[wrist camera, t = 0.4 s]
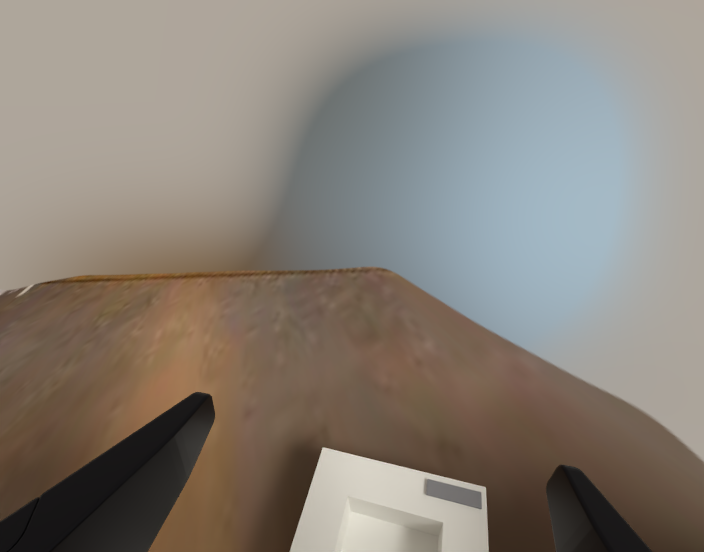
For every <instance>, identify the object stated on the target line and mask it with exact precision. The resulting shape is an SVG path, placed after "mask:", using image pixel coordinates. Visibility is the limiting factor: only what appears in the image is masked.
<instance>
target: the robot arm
mask: <svg viewBox="0 0 704 552" xmlns="http://www.w3.org/2000/svg"><path fill="white" fill-rule="evenodd" d="M214 419H215V411H214V406H213V401H212V396H211V395H210V394H206V393H201V392H195V393H193V394H191V395H190V396H188V397H187V398H185V399H184V400H182V401H181V402H179V403H178V404H176V405H175V406H173V407H172V408H170V409H169V410H167V411H166V412H164V413H163V414H161V415H160V416H158V417H157V418H155V419H154V420H152V421H151V422H149V423H148V424H146V425H145V426H143V427H142V428H140V429H139V430H137V431H136V432H134V433H133V434H131V435H130V436H128V437H127V438H125V439H124V440H122V441H121V442H119V443H118V444H116V445H115V446H113V447H112V448H110V449H109V450H107V451H106V452H104V453H103V454H101V455H100V456H98V457H97V458H95V459H94V460H92V461H91V462H89V463H88V464H86V465H85V466H83V467H82V468H80V469H79V470H77V471H76V472H74V473H73V474H71V475H70V476H68V477H67V478H65V479H64V480H62V481H61V482H59V483H58V484H56V485H55V486H53V487H52V488H50V489H49V490H47V491H46V492H44V493H43V494H42V495H41V496H40V497H37V498H35V499H34V500H32V501H31V502H29V503H28V504H26V505H25V506H23V507H22V508H20V509H19V510H17V511H16V512H14V513H13V514H11V515H10V516H8V517H6V518H5V519H3V520H2V521H0V552H148V550H149V548H150V547H151V545H152V543H153V541H154V539H155V538H156V536H157V534H158V532H159V530H160V529H161V527H162V525H163V523H164V522H165V520H166V518H167V516H168V514H169V513H170V511H171V509H172V507H173V506H174V504H175V502H176V500H177V498H178V497H179V495H180V493H181V491H182V490H183V488H184V486H185V484H186V482H187V480H188V478H189V476H190V474H191V472H192V470H193V468H194V465H195V463H196V461H197V458H198V456H199V454H200V452H201V449H202V447H203V445H204V443H205V440H206V438H207V436H208V434H209V431H210V429H211V427H212V425H213V422H214ZM546 493H547V499H548V505H549V511H550V517H551V523H552V529H553V535H554V541H555V547H556V552H652V551H651V550H650V549H649V547H648V546H647V545H646V544H645V543H644V542H643V541H642V539H641V538H640V537H639V536H638V535H637V534H636V533H635V531H634V530H633V529H632V528H631V527H630V526H629V524H628V523H627V522H626V521H625V520H624V519H623V518H622V516H621V515H620V514H619V513H618V512H617V511H616V510H615V508H614V507H613V506H612V505H611V504H610V503H609V502H608V500H607V499H606V498H605V497H604V496H603V495H602V494H601V492H600V491H599V490H598V489H597V488H596V487H595V486H594V484H593V483H592V482H591V481H590V480H589V479H588V478H587V476H586V475H585V474H584V473H583V472H582V471H581V470H580V469H578V468H576V467H571V466H566V465H559V466H558V467H557V468H556V470H555V471H554V473H553V474H552V476H551V478H550V479H549V481H548V483H547V487H546Z"/></svg>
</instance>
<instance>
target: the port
mask: <svg viewBox="0 0 704 552" xmlns="http://www.w3.org/2000/svg"><path fill="white" fill-rule="evenodd" d="M290 552H489V545H488V523H487V501H486V487H483V486H479V485H475V484H471V483H467V482H462V481H458V480H454V479H450V478H446V477H442V476H438V475H434V474H430V473H426V472H422V471H418V470H414V469H409V468H405V467H401V466H397V465H393V464H389V463H385V462H381V461H377V460H373V459H369V458H365V457H361V456H356V455H352V454H348V453H344V452H340V451H336V450H332V449H328V448H324V447H323V448H322V452H321V455H320V458H319V461H318V464H317V467H316V470H315V474H314V477H313V480H312V483H311V486H310V489H309V492H308V496H307V499H306V502H305V505H304V508H303V511H302V514H301V518H300V521H299V524H298V527H297V530H296V533H295V536H294V540H293V543H292V546H291V549H290Z"/></svg>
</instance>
